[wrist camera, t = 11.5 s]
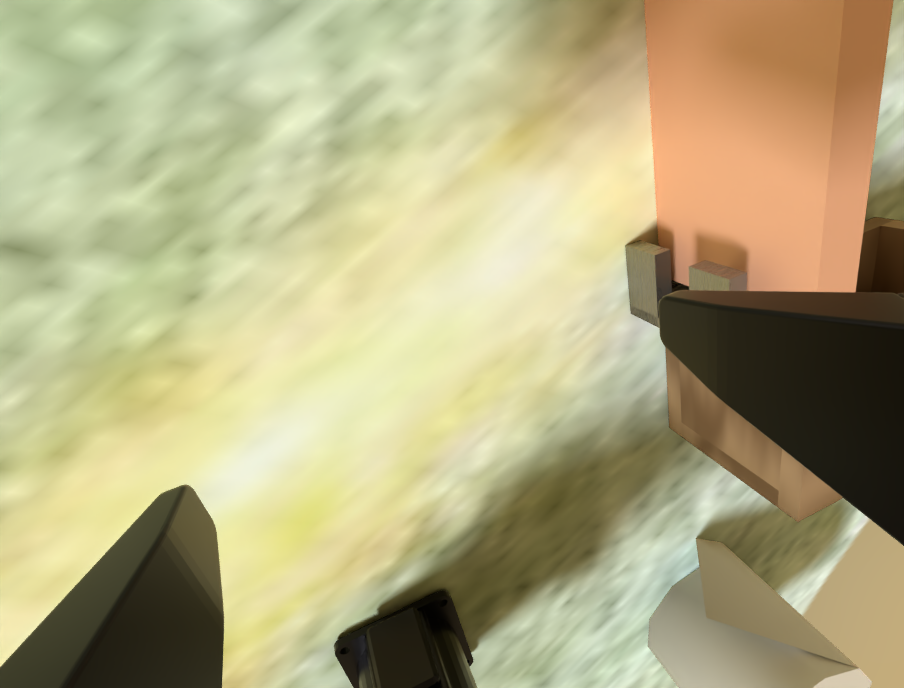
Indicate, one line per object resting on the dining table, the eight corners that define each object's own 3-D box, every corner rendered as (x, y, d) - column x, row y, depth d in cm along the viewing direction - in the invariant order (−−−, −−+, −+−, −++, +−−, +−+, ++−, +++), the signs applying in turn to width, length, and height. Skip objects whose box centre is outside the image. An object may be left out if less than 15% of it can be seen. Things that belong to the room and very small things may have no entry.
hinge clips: (710, 281, 26) (823, 320, 21) (631, 313, 25) (728, 362, 20) (710, 214, 25) (832, 238, 19) (625, 245, 24) (729, 279, 18)
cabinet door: (699, 259, 26) (865, 309, 19) (659, 275, 25) (813, 332, 18) (693, -28, 20) (924, -109, 13) (642, -14, 20) (852, -91, 13)
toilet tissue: (696, 516, 33) (822, 629, 26) (767, 588, 40) (884, 695, 32) (597, 614, 34) (694, 753, 26) (684, 669, 40) (781, 793, 33)
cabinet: (857, 342, 32) (1023, 402, 25) (669, 427, 29) (797, 521, 22) (875, 217, 28) (1076, 246, 21) (663, 300, 26) (814, 365, 19)
